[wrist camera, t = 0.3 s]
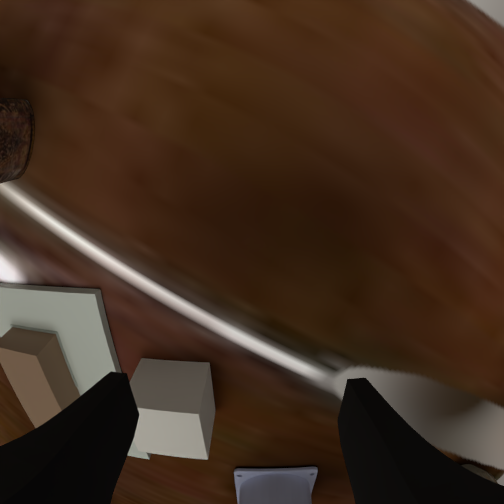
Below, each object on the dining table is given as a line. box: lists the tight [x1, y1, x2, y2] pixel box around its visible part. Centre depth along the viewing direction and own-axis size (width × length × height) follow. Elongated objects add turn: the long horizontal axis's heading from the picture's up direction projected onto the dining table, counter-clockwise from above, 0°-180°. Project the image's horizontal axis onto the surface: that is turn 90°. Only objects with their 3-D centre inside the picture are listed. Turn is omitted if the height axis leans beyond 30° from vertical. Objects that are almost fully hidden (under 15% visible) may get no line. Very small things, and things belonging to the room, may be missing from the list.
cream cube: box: [130, 358, 216, 460], centre depth 20 cm, size 5×5×5 cm
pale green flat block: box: [0, 283, 151, 459], centre depth 21 cm, size 18×12×4 cm, turn 1°
